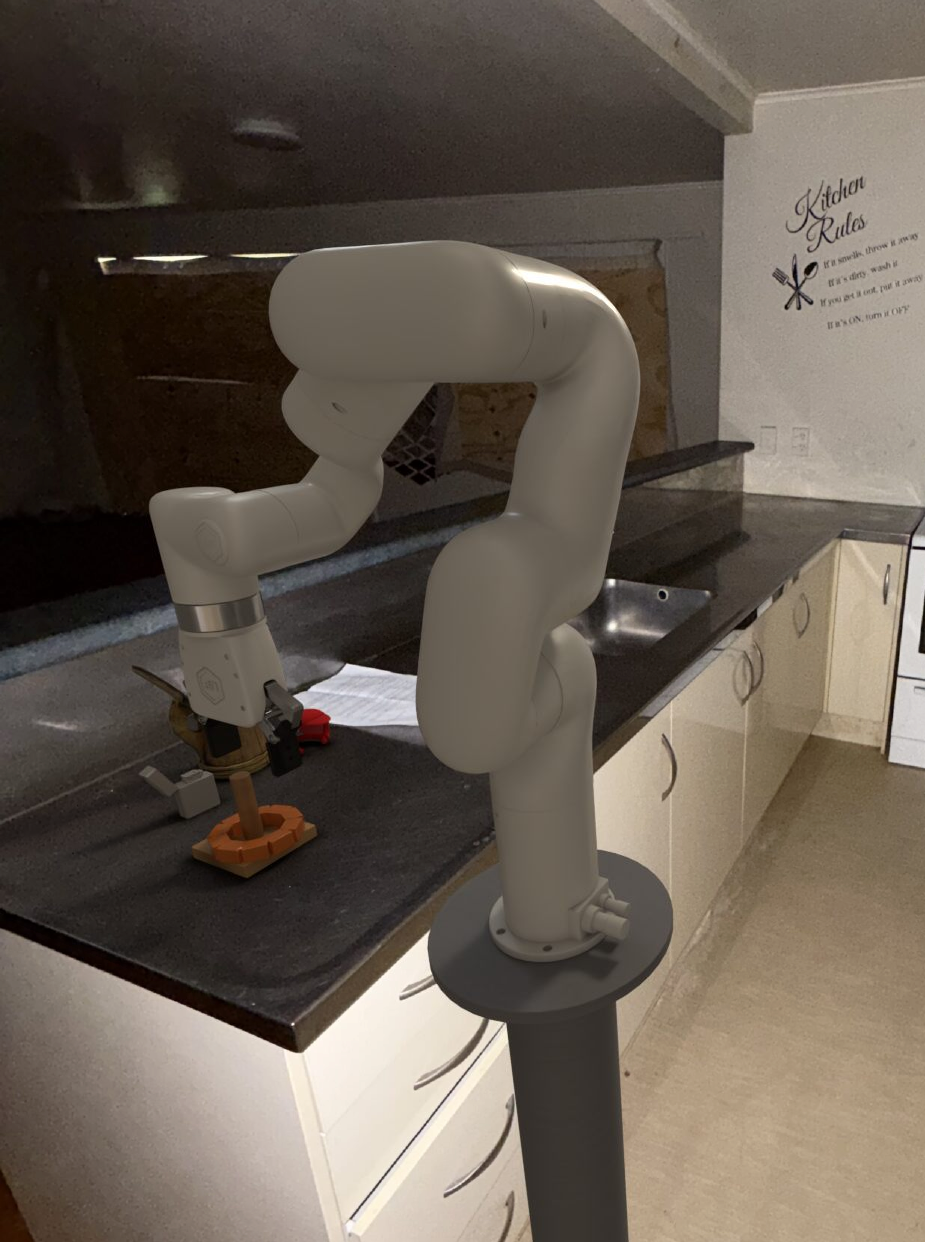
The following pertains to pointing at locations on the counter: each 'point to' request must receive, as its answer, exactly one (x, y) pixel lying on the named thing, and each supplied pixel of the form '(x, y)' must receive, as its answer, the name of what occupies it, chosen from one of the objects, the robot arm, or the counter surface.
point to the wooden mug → (222, 768)
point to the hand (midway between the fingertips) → (257, 761)
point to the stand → (248, 829)
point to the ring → (258, 848)
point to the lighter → (186, 790)
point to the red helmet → (314, 726)
